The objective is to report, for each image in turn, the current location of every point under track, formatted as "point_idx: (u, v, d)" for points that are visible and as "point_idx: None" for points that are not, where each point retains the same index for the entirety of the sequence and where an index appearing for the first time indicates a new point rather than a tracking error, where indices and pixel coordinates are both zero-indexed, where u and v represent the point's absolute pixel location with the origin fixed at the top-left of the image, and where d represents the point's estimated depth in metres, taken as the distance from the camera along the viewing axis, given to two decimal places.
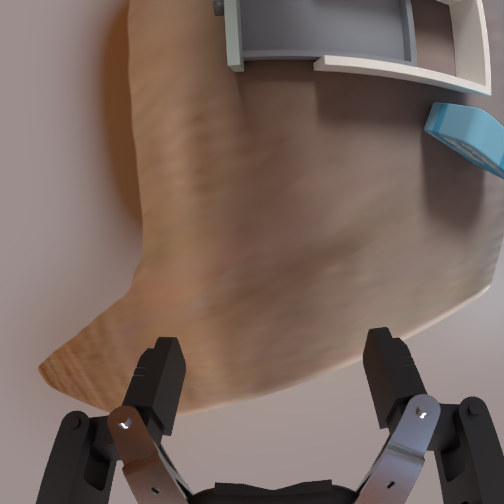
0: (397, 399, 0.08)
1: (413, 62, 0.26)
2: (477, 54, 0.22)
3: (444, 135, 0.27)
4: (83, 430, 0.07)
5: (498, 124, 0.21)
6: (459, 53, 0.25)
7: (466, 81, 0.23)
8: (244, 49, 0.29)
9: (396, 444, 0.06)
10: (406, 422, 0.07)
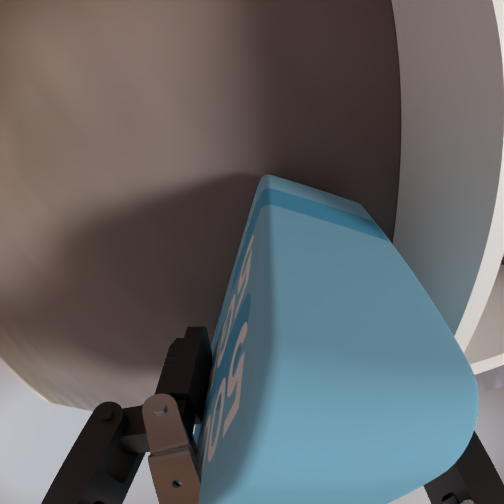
0: None
1: None
2: None
3: (266, 226, 0.07)
4: (116, 421, 0.08)
5: (401, 496, 0.04)
6: None
7: (483, 304, 0.08)
8: None
9: None
10: None
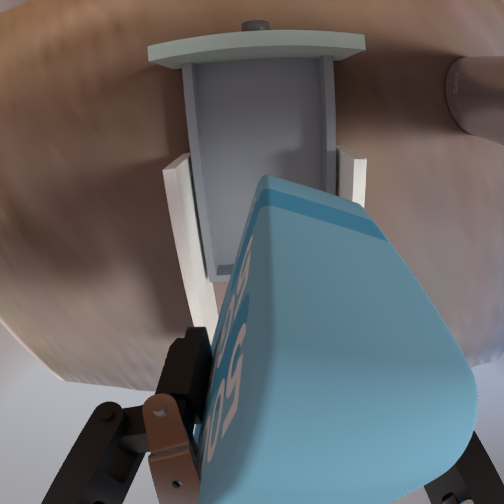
0: None
1: (216, 277, 0.30)
2: None
3: (264, 226, 0.07)
4: (116, 421, 0.08)
5: (400, 496, 0.04)
6: None
7: None
8: (202, 66, 0.22)
9: None
10: None
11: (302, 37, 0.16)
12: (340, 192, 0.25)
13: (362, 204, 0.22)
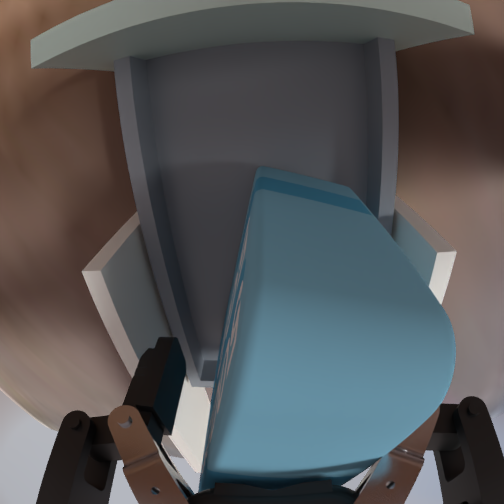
0: None
1: (200, 383, 0.20)
2: None
3: (257, 205, 0.09)
4: (84, 430, 0.07)
5: (397, 443, 0.05)
6: None
7: (192, 456, 0.19)
8: (156, 61, 0.12)
9: None
10: None
11: None
12: None
13: None
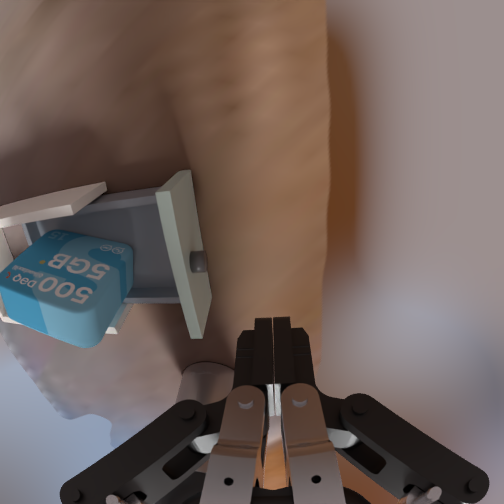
0: (276, 385, 0.09)
1: None
2: None
3: (112, 278, 0.25)
4: (199, 420, 0.08)
5: (67, 342, 0.22)
6: (2, 247, 0.32)
7: None
8: None
9: (294, 441, 0.07)
10: (290, 418, 0.08)
11: (187, 304, 0.27)
12: None
13: None
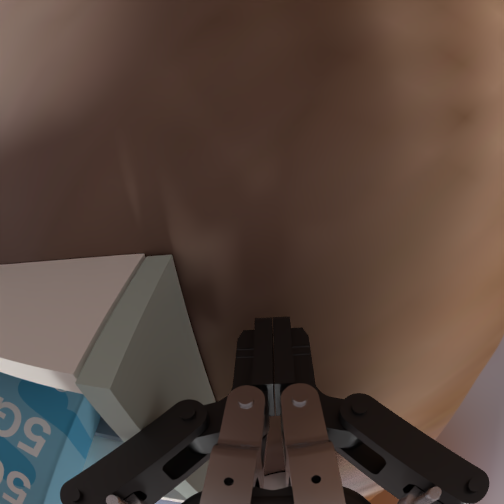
0: (276, 385, 0.09)
1: None
2: None
3: (57, 454, 0.10)
4: (199, 420, 0.08)
5: None
6: None
7: None
8: None
9: (294, 441, 0.07)
10: (290, 418, 0.08)
11: (190, 494, 0.11)
12: None
13: None
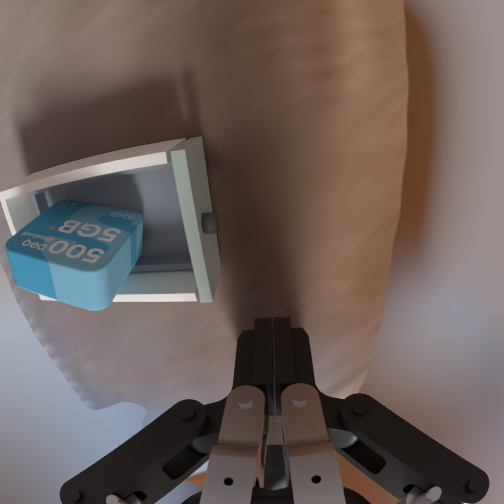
0: (276, 385, 0.09)
1: (32, 194, 0.28)
2: None
3: (124, 240, 0.26)
4: (199, 420, 0.08)
5: (76, 305, 0.23)
6: None
7: (21, 192, 0.24)
8: None
9: (294, 441, 0.07)
10: (290, 418, 0.08)
11: (198, 265, 0.27)
12: (169, 274, 0.33)
13: (163, 300, 0.30)
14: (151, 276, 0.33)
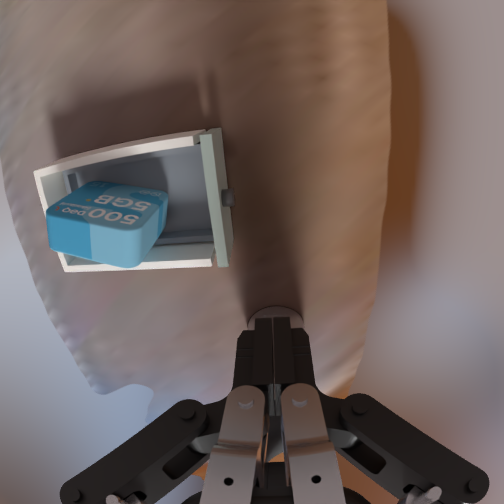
0: (276, 385, 0.09)
1: (65, 175, 0.34)
2: None
3: (154, 210, 0.31)
4: (199, 420, 0.08)
5: (110, 263, 0.28)
6: None
7: (57, 170, 0.29)
8: None
9: (294, 441, 0.07)
10: (290, 418, 0.08)
11: (218, 231, 0.32)
12: (186, 246, 0.38)
13: (182, 266, 0.35)
14: (170, 248, 0.38)
